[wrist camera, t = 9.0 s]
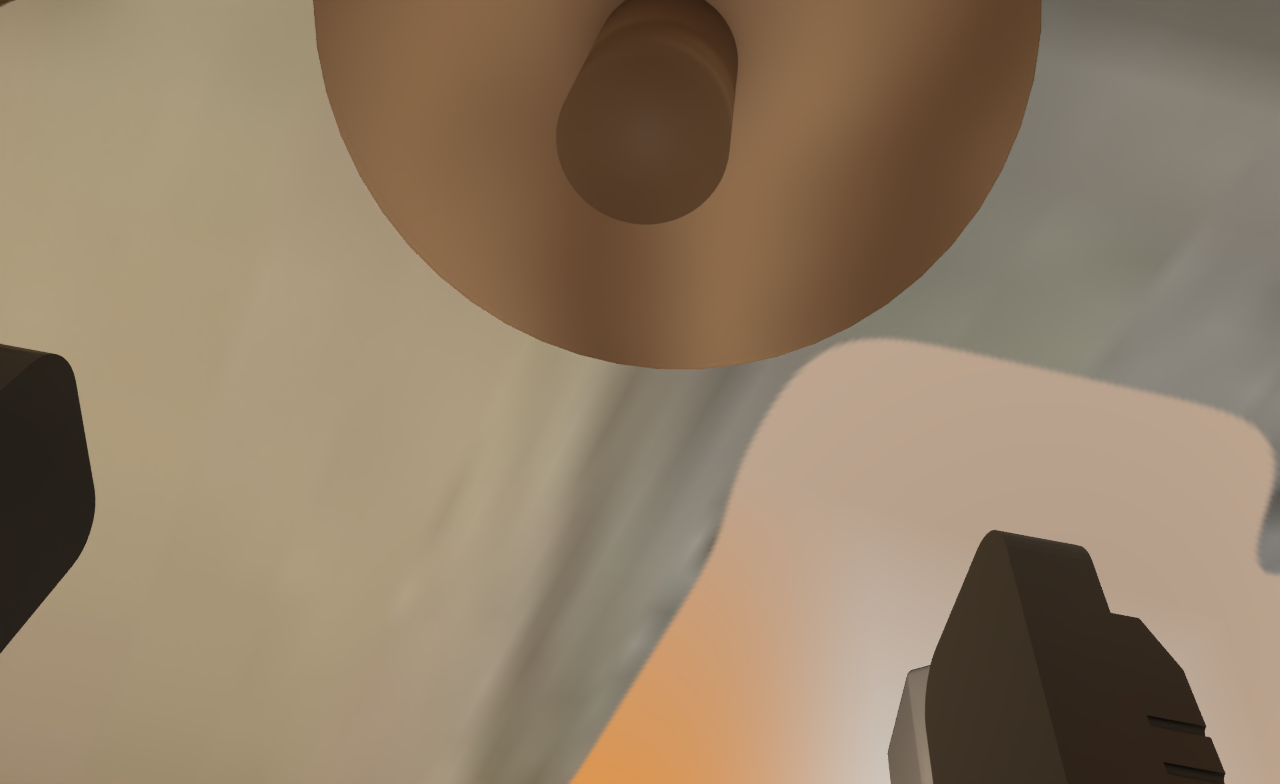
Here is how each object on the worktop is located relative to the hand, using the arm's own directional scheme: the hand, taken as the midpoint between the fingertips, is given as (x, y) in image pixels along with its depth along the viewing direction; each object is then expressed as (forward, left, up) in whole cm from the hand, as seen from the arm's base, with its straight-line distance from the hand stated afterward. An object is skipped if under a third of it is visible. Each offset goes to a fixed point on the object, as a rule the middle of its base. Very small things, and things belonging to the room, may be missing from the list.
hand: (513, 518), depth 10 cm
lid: (0, 0, -15) cm, 15 cm away
